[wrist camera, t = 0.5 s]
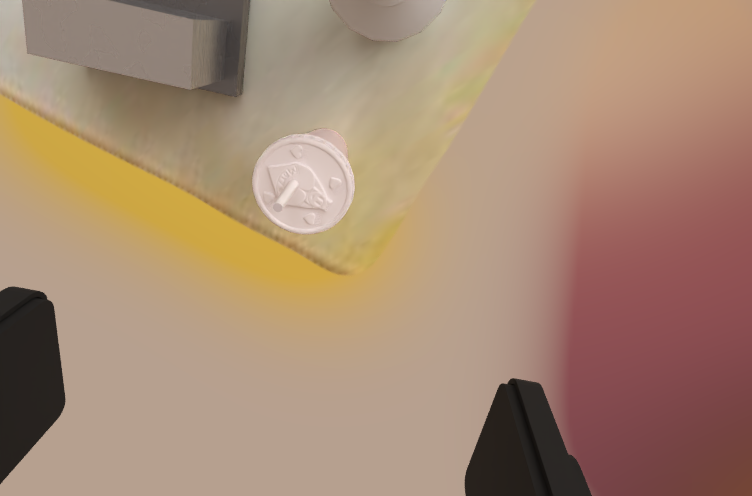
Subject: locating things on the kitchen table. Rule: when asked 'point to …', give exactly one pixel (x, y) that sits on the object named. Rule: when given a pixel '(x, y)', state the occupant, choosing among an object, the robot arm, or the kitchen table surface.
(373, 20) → the bottle
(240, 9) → the clamp base
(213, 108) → the kitchen table surface
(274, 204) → the smoothie
